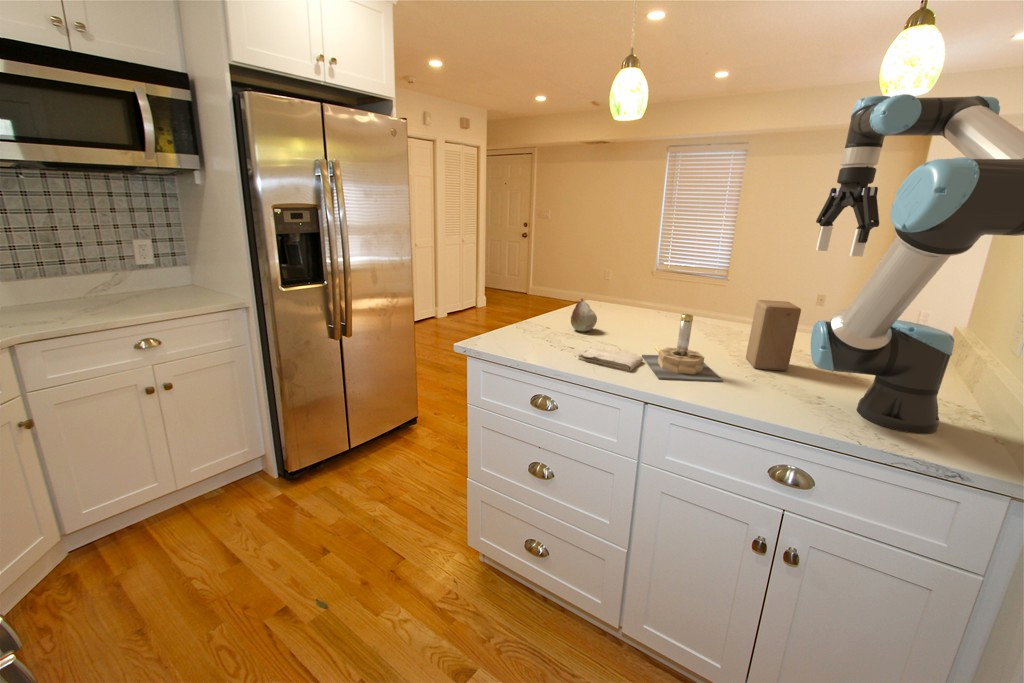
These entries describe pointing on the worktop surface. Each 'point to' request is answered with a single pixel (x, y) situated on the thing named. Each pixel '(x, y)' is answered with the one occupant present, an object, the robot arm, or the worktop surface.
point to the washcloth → (610, 358)
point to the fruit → (583, 317)
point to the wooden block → (772, 334)
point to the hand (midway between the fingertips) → (837, 253)
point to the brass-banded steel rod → (684, 335)
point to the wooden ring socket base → (680, 366)
